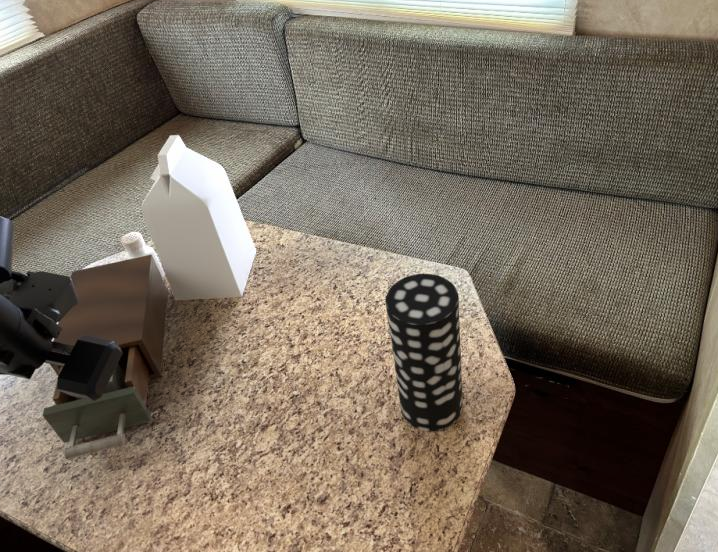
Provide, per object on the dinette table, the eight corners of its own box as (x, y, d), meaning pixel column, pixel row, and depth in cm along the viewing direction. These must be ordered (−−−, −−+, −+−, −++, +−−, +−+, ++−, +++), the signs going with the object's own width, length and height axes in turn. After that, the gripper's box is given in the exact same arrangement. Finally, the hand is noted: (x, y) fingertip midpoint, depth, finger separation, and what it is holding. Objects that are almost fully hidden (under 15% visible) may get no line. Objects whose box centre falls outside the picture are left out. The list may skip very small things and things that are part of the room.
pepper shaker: (149, 289, 105) (128, 247, 99) (134, 282, 107) (113, 240, 101) (167, 276, 107) (148, 233, 101) (152, 269, 109) (133, 227, 103)
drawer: (148, 451, 79) (130, 422, 75) (57, 474, 77) (33, 446, 73) (159, 326, 96) (145, 298, 92) (85, 343, 95) (67, 315, 91)
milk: (241, 297, 101) (194, 163, 85) (175, 300, 102) (115, 168, 86) (256, 251, 111) (216, 122, 94) (195, 254, 111) (144, 128, 95)
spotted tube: (393, 424, 80) (375, 318, 67) (410, 375, 86) (397, 269, 73) (455, 437, 77) (449, 330, 65) (468, 385, 83) (465, 278, 71)
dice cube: (88, 415, 83) (72, 393, 79) (90, 388, 86) (75, 365, 83) (126, 403, 84) (112, 380, 81) (126, 377, 87) (112, 354, 84)
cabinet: (161, 376, 90) (141, 339, 84) (73, 397, 88) (47, 361, 83) (168, 290, 104) (151, 254, 99) (92, 307, 103) (72, 271, 98)
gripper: (115, 274, 62) (165, 333, 76) (-47, 240, 65) (29, 304, 78) (61, 376, 57) (126, 420, 70) (-114, 335, 59) (-19, 386, 72)
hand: (65, 378), depth 73 cm, fingers open, 9 cm apart
